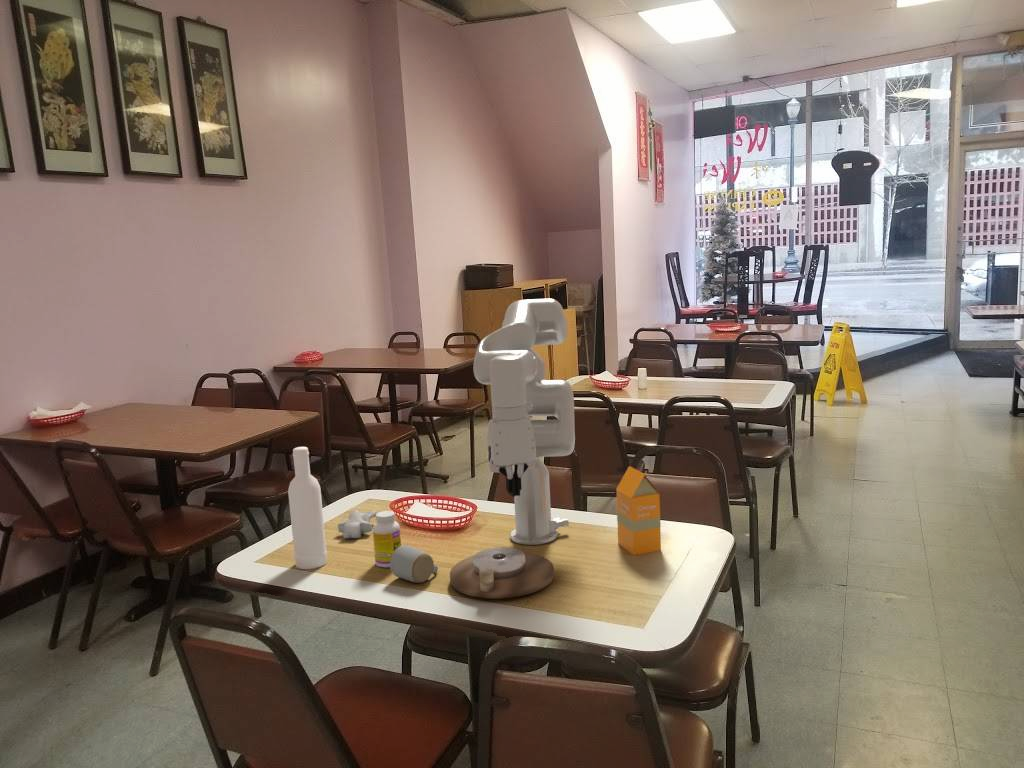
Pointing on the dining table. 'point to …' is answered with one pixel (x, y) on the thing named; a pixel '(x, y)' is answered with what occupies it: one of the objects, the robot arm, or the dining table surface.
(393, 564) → the ceramic mug
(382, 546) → the supplement bottle
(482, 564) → the steel cover
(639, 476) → the orange juice
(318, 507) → the bottle
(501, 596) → the lazy susan
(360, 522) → the bunny figurine
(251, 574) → the dining table surface
